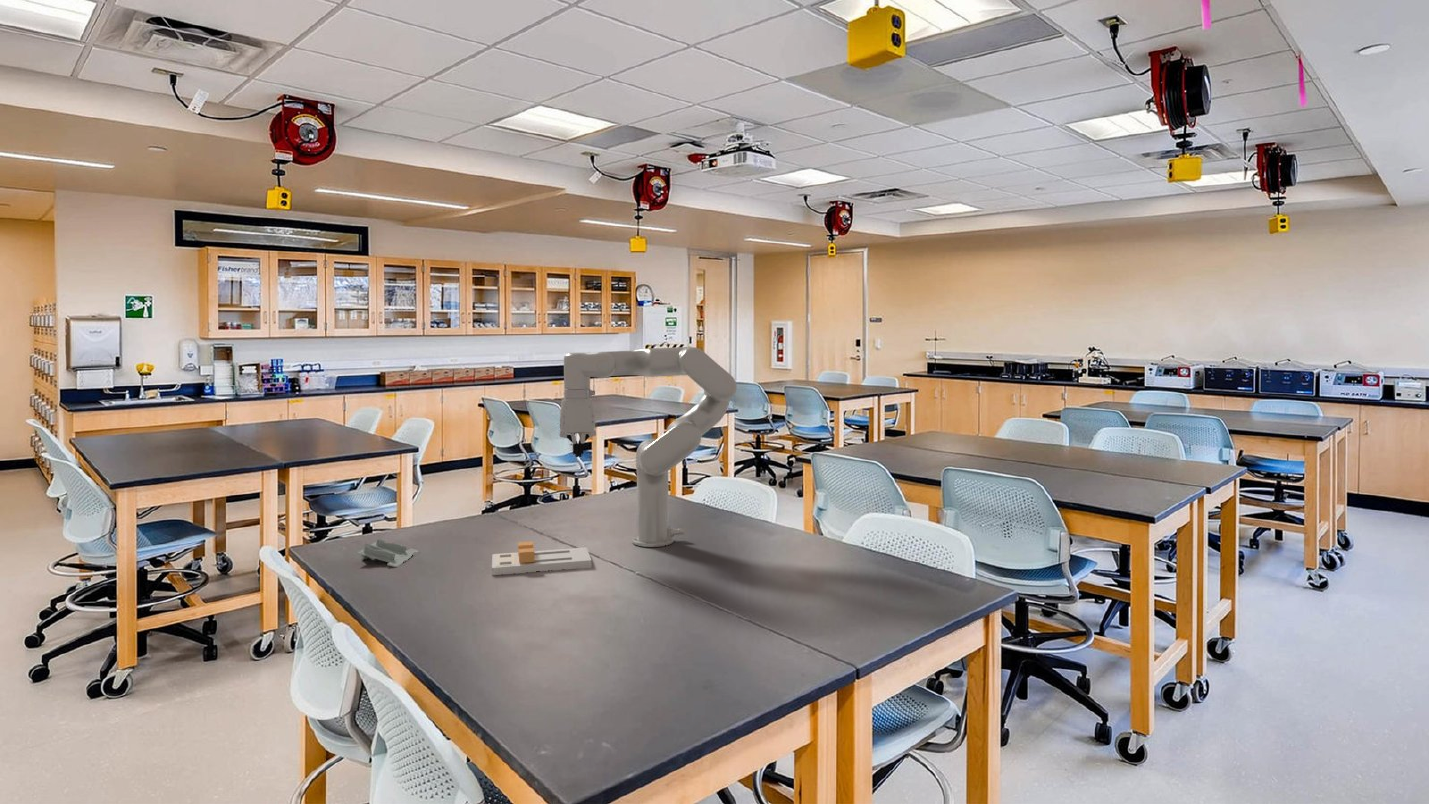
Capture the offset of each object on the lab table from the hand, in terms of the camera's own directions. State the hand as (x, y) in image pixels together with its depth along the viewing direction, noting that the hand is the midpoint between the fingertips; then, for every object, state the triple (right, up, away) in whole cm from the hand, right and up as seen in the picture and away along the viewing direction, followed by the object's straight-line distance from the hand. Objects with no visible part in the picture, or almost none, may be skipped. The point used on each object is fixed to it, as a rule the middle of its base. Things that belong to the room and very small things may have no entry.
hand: (578, 456), depth 226 cm
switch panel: (-7, -29, -16) cm, 34 cm away
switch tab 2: (-10, -27, -21) cm, 35 cm away
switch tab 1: (-12, -26, -14) cm, 32 cm away
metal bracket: (-52, -29, -11) cm, 60 cm away
